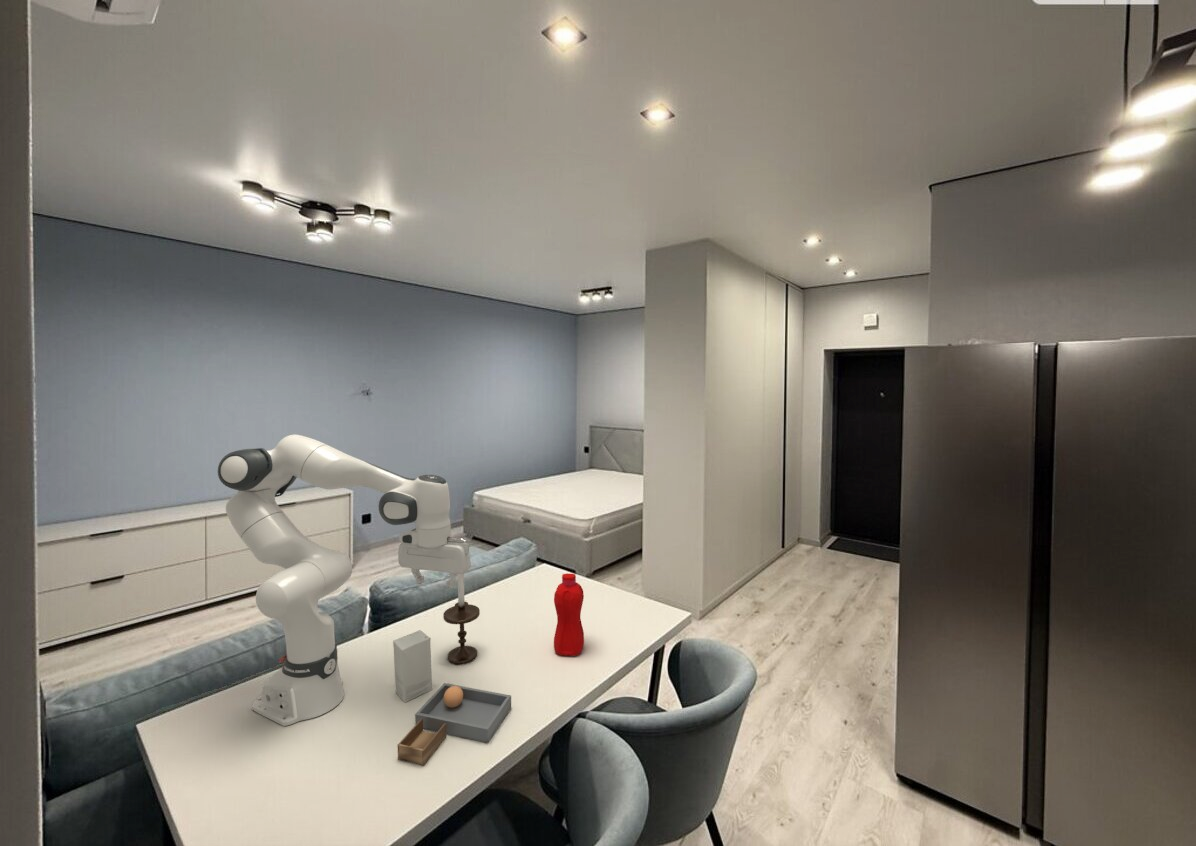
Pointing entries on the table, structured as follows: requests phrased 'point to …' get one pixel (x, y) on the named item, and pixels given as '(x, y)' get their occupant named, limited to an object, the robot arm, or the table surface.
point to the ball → (453, 696)
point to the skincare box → (412, 665)
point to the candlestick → (461, 626)
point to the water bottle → (568, 617)
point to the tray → (466, 713)
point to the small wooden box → (420, 744)
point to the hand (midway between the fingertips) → (435, 585)
